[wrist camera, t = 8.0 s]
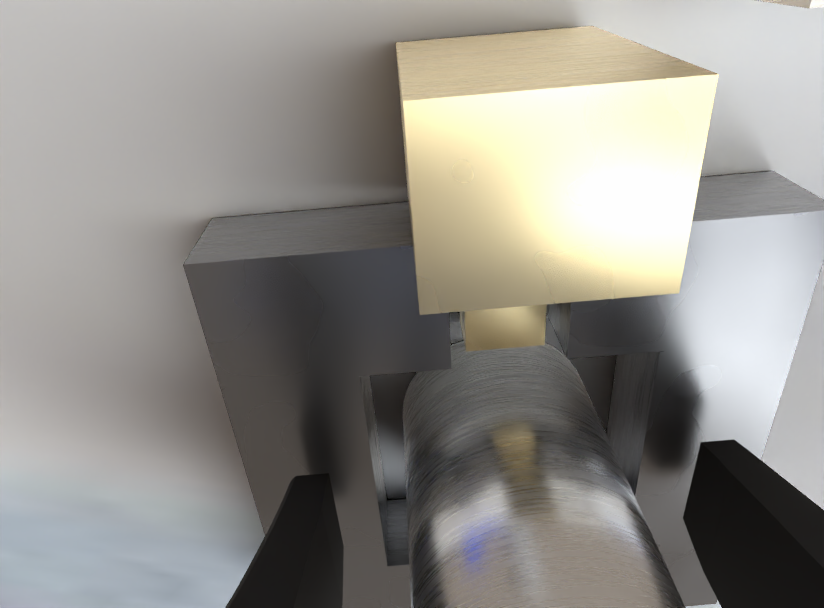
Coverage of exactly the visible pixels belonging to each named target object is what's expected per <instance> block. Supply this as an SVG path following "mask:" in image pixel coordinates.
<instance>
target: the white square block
mask: <svg viewBox="0 0 824 608" xmlns="http://www.w3.org/2000/svg"><path fill="white" fill-rule="evenodd" d="M756 1H763V2H770V3H777V4H783V5H790V6H797V7H804V8H819V7H824V0H756Z"/></svg>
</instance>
